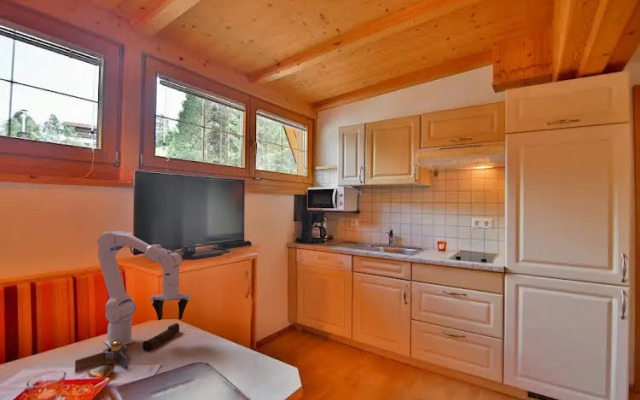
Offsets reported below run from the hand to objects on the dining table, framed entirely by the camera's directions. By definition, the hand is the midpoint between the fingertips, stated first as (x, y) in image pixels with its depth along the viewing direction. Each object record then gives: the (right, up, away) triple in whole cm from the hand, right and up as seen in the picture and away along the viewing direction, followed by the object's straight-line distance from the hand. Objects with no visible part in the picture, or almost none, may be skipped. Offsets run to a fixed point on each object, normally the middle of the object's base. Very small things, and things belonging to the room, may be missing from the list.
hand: (170, 319), depth 119 cm
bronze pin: (-13, -9, -13) cm, 20 cm away
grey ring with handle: (-10, -9, -16) cm, 20 cm away
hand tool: (-4, -10, +2) cm, 11 cm away
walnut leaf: (-15, -9, -16) cm, 24 cm away
